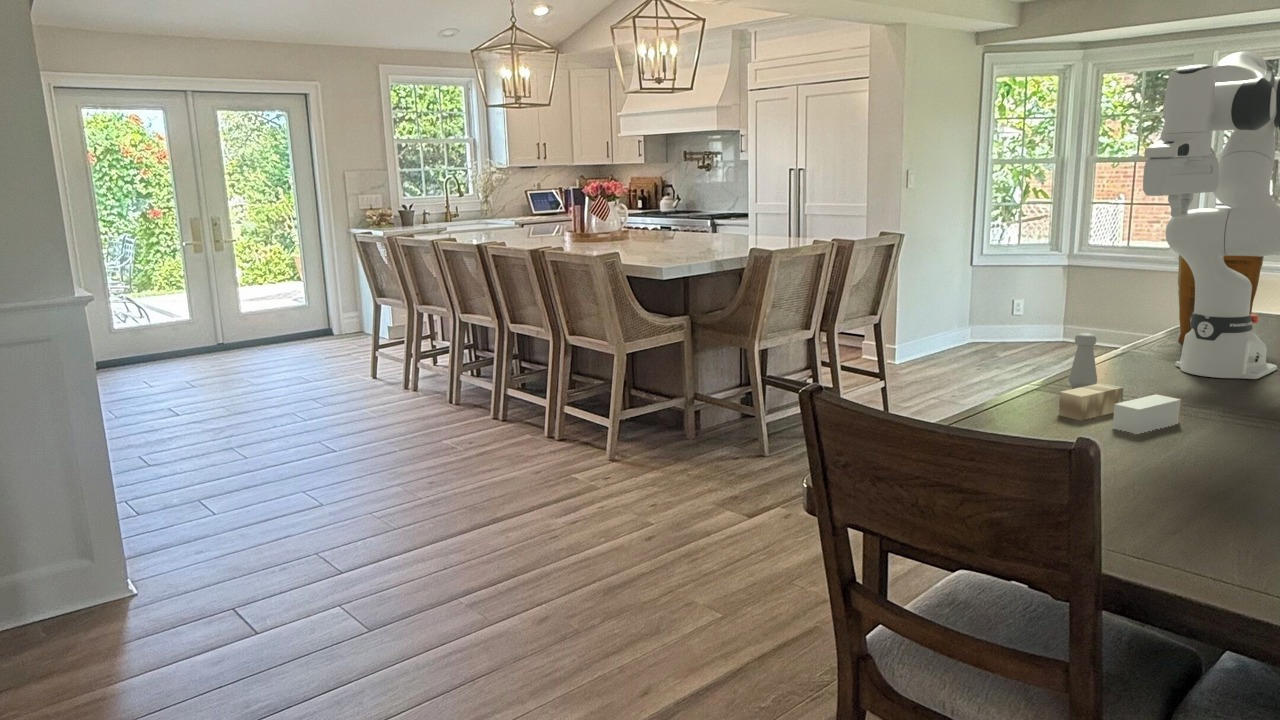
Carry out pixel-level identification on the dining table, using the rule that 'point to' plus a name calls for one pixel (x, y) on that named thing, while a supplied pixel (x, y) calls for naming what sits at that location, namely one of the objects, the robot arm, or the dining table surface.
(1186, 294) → the pancake mix bag
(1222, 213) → the robot arm
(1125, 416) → the white block
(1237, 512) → the dining table surface
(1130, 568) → the dining table surface
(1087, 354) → the salt shaker
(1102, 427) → the dining table surface
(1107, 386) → the maple block
